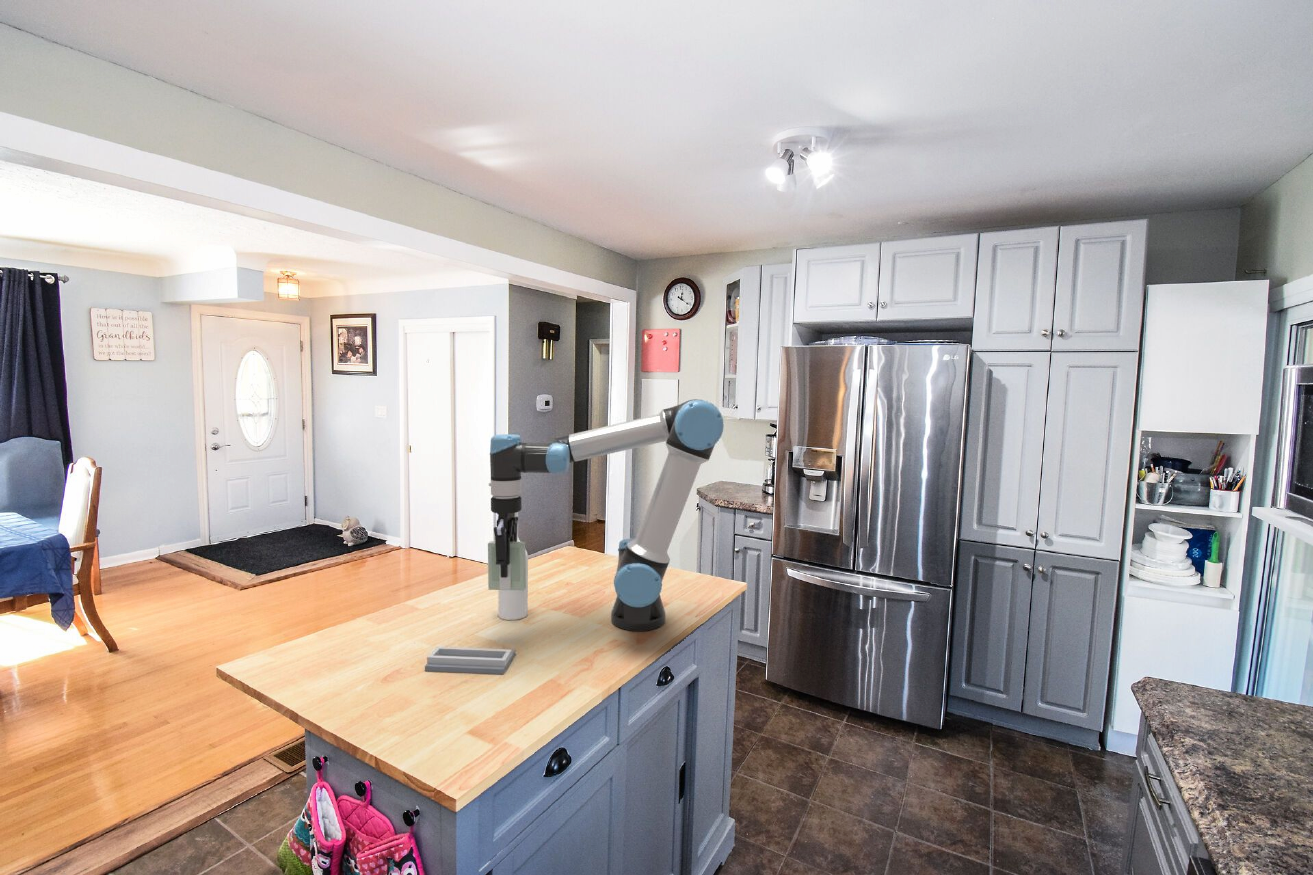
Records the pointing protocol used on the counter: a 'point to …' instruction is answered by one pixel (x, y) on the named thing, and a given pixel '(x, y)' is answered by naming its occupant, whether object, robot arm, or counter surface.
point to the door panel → (517, 567)
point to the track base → (469, 660)
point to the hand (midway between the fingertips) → (507, 586)
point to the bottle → (514, 598)
